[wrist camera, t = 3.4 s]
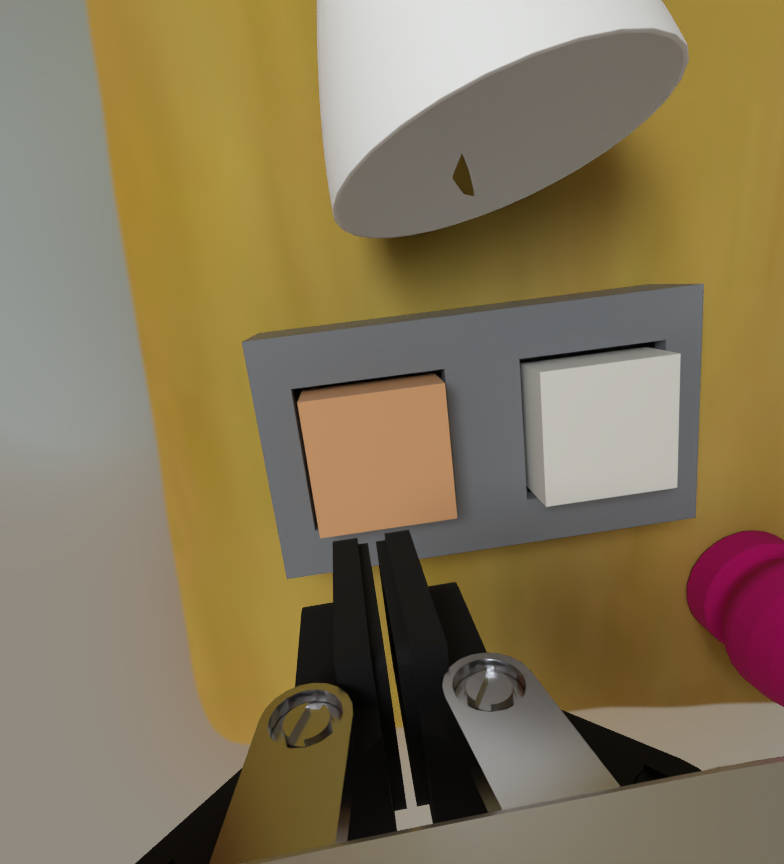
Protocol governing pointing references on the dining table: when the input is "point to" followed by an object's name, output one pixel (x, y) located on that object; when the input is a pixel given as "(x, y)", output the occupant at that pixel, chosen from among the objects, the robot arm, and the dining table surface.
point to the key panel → (474, 410)
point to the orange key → (378, 454)
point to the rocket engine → (479, 99)
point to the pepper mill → (745, 605)
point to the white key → (601, 424)
